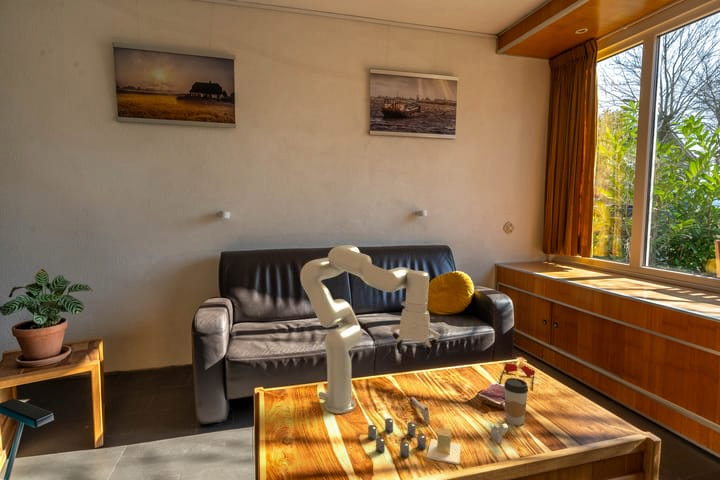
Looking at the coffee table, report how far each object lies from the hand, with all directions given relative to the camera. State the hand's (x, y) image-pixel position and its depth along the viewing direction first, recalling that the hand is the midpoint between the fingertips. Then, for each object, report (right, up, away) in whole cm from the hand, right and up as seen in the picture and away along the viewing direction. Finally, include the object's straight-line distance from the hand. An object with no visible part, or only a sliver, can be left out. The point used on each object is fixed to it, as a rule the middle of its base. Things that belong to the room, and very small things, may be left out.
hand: (413, 354), depth 138 cm
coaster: (+9, -29, -10) cm, 32 cm away
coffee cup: (+39, -28, +9) cm, 49 cm away
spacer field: (-7, -29, -5) cm, 30 cm away
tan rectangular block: (+9, -28, -10) cm, 31 cm away
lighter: (+28, -29, -5) cm, 41 cm away
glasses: (+54, -25, +43) cm, 73 cm away
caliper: (+4, -27, +16) cm, 32 cm away
